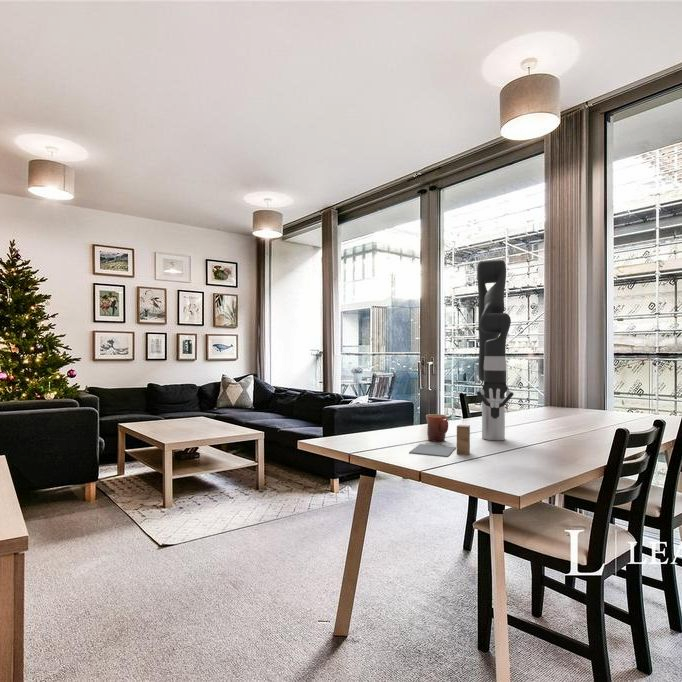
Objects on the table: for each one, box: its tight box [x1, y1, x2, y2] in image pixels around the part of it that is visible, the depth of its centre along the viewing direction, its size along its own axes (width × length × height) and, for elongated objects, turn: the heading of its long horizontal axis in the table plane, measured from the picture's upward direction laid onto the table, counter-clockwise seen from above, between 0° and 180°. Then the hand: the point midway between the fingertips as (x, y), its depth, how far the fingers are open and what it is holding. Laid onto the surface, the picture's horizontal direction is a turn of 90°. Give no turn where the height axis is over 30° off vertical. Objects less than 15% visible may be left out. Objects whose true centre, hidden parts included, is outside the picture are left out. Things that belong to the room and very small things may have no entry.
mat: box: [408, 443, 457, 458], centre depth 173 cm, size 16×14×1 cm
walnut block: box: [456, 424, 471, 456], centre depth 169 cm, size 4×4×10 cm
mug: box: [425, 413, 449, 443], centre depth 191 cm, size 12×9×10 cm
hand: (495, 418), depth 164 cm, fingers closed
